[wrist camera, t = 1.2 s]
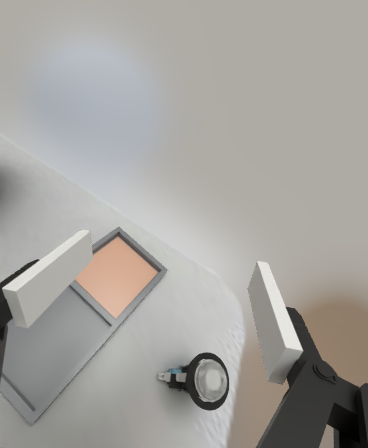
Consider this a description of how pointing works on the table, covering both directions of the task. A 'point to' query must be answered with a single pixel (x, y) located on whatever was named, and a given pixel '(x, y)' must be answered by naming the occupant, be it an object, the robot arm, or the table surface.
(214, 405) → the push button
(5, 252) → the table surface
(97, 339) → the sorting tray
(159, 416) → the table surface
